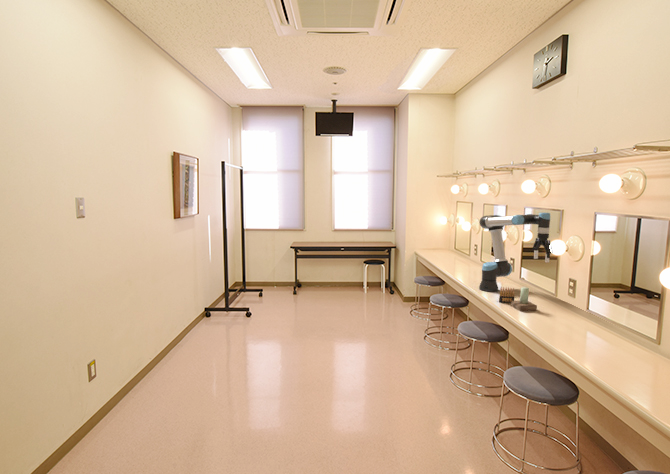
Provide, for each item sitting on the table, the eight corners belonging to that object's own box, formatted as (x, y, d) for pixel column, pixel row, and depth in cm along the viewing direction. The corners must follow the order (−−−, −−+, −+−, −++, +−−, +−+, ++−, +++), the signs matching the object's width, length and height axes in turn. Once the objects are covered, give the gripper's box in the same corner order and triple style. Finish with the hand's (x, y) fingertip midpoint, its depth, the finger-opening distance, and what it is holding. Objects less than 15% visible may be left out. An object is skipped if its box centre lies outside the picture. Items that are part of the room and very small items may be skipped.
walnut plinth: (510, 305, 265) (511, 300, 264) (526, 305, 266) (526, 300, 265) (520, 311, 253) (520, 305, 253) (536, 310, 254) (536, 305, 253)
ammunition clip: (513, 302, 273) (514, 287, 272) (514, 303, 271) (515, 287, 270) (498, 302, 275) (499, 286, 273) (499, 302, 273) (500, 287, 271)
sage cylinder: (518, 302, 261) (519, 287, 260) (524, 301, 262) (526, 287, 260) (522, 304, 256) (523, 289, 255) (529, 303, 257) (530, 288, 255)
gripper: (559, 234, 260) (557, 263, 262) (537, 231, 284) (535, 257, 287) (549, 235, 259) (547, 263, 262) (528, 231, 284) (526, 257, 287)
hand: (541, 260), depth 275 cm, fingers open, 13 cm apart
